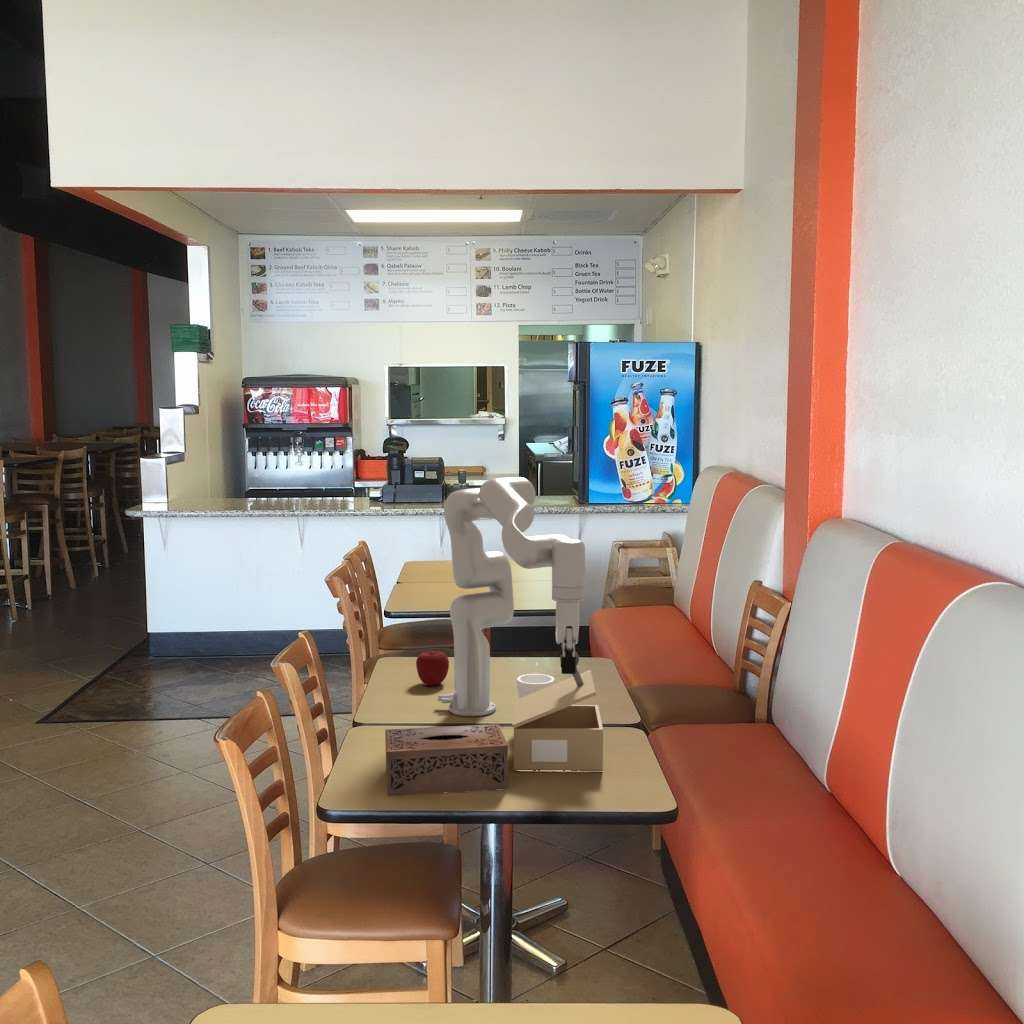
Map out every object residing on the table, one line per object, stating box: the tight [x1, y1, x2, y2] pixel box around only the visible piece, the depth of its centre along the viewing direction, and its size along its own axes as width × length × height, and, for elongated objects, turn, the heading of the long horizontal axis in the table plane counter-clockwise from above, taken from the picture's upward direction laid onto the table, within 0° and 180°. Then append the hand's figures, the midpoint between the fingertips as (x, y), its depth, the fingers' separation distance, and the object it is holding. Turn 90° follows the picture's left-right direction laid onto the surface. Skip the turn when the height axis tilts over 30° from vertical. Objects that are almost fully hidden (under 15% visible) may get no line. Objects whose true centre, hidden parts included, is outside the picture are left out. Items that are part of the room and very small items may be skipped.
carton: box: [513, 704, 604, 772], centre depth 237 cm, size 20×18×10 cm
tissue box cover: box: [384, 723, 509, 797], centre depth 224 cm, size 26×14×10 cm, turn 98°
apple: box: [415, 650, 450, 687], centre depth 298 cm, size 10×10×10 cm
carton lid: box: [511, 651, 597, 729], centre depth 236 cm, size 20×18×10 cm
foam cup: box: [516, 673, 555, 699], centre depth 258 cm, size 10×9×13 cm
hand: (567, 669), depth 236 cm, fingers closed on carton lid, 4 cm apart
